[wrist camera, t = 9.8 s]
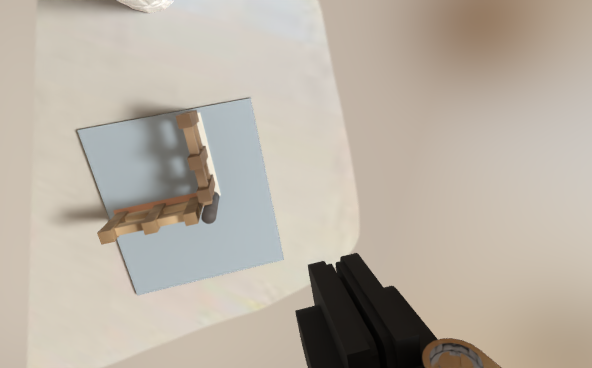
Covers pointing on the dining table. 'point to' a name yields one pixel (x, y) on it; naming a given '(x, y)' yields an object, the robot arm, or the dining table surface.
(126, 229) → the fence fold
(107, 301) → the dining table surface
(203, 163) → the fence fixed
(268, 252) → the card
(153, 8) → the white cup
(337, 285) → the robot arm
